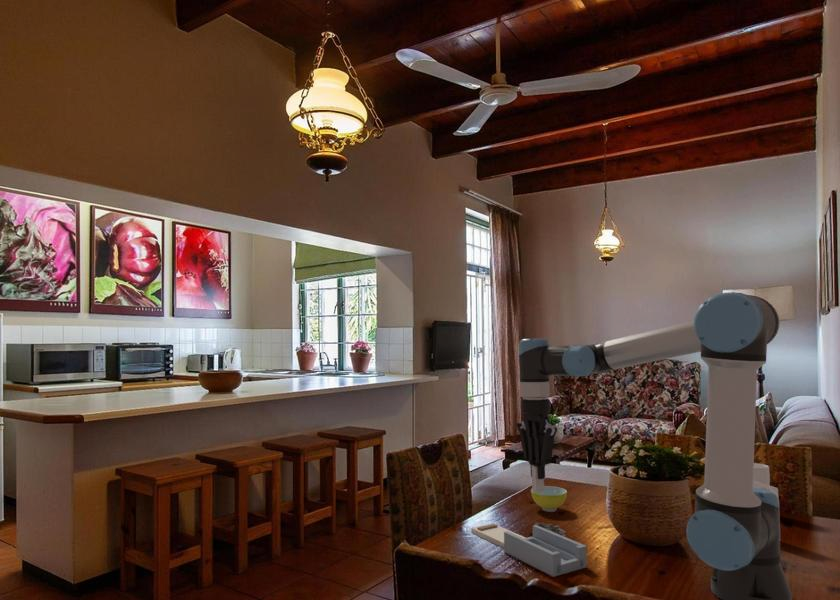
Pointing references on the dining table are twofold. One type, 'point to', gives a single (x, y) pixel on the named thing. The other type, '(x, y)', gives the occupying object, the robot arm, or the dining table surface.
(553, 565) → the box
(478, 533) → the lid
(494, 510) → the dining table surface
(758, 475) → the drinking glass
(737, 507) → the robot arm
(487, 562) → the dining table surface
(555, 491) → the bowl
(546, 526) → the egg carton
